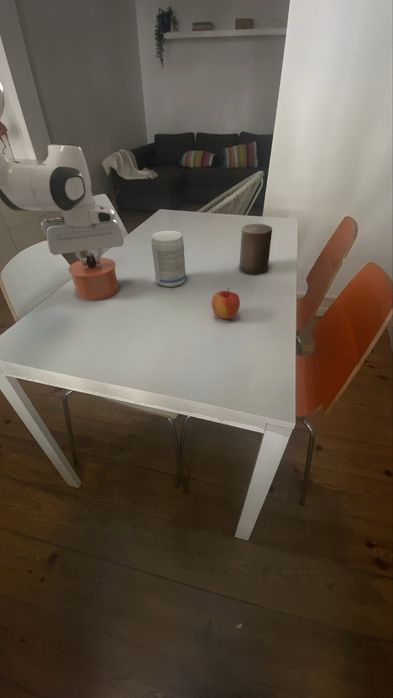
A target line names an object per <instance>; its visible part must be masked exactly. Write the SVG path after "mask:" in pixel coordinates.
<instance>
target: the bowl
mask: <svg viewBox="0 0 393 698" xmlns="http://www.w3.org/2000/svg"><path fill="white" fill-rule="evenodd" d="M115 268H116V267H115ZM115 268H114V270H112V271H111V272H109V273H107V274H105V275H101V276H97V277H90V278H81V277H75V276H73V275H71V278H72V282H73V285H74V289H75V292H76V295H77V297H78V298H80V299H82V300H84V301H100V300H105V299H108V298H111V297H112V296H115V294H117V292H118V291H119V283H118V278H117V275H116V269H115Z"/></svg>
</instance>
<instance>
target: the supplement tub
mask: <svg viewBox="0 0 393 698" xmlns="http://www.w3.org/2000/svg"><path fill="white" fill-rule="evenodd" d="M150 239H151V248H152V250H151V251H152V259H153V266H154V273H155V281H156V283H157V284H158V285H159V286H162V287H167V288H168V287H169V288H171V287H172V288H173V287H178V286H180V285H183V284H184V282H185V281H186V261H185V243H184V237H183V233H182V232H179V231H178V230H177V231H176V230H161V231H158V232H155V233H153V234H152V235H151V238H150Z"/></svg>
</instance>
